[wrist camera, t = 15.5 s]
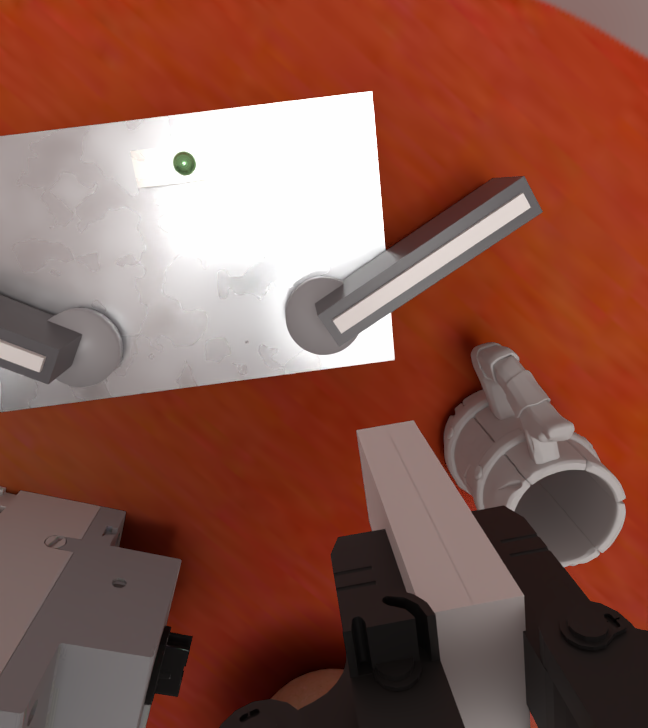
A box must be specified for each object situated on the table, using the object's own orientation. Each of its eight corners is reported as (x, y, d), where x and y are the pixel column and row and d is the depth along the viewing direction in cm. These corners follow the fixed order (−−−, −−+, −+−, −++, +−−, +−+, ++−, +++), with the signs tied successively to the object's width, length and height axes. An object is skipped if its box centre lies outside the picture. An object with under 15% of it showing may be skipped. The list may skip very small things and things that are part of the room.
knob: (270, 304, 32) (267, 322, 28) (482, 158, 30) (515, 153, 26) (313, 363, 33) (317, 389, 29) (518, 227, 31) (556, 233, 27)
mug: (454, 500, 38) (525, 633, 27) (407, 345, 35) (465, 421, 23) (561, 465, 38) (679, 584, 26) (524, 305, 34) (642, 362, 23)
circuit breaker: (194, 617, 40) (141, 856, 25) (-13, 580, 38) (-197, 817, 23) (216, 529, 38) (172, 735, 23) (-1, 486, 36) (-195, 682, 21)
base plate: (8, 406, 34) (-16, 424, 31) (-73, 148, 30) (-111, 143, 27) (391, 355, 35) (400, 369, 32) (369, 94, 30) (377, 84, 27)
